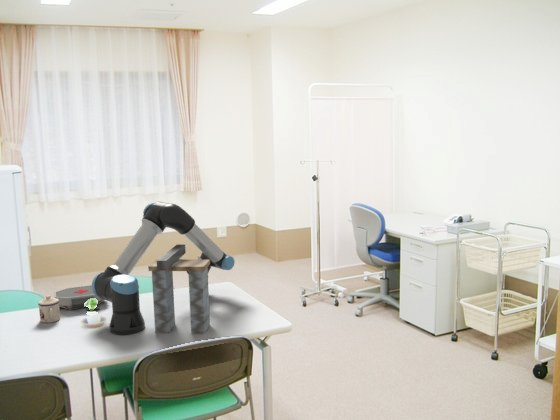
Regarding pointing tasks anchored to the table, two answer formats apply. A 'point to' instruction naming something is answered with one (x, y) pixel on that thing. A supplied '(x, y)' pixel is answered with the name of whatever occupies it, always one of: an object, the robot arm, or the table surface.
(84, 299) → the first aid kit
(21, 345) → the table surface
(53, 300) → the teacup with lid
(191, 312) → the bench
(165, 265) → the dark grey bar
